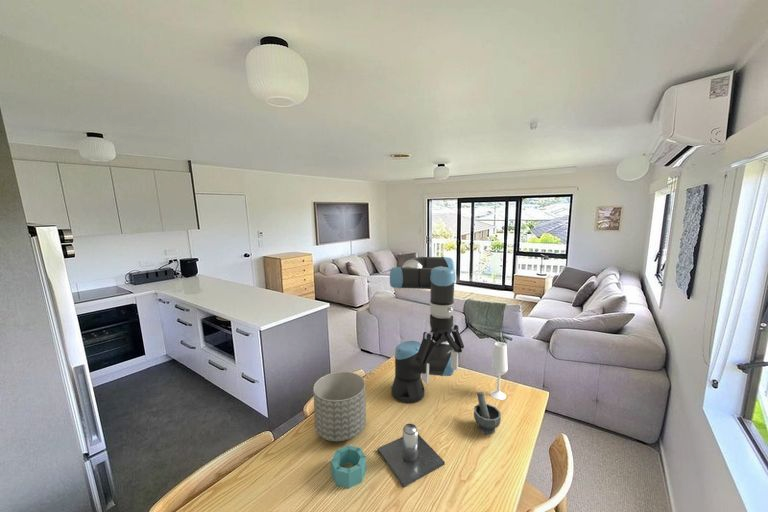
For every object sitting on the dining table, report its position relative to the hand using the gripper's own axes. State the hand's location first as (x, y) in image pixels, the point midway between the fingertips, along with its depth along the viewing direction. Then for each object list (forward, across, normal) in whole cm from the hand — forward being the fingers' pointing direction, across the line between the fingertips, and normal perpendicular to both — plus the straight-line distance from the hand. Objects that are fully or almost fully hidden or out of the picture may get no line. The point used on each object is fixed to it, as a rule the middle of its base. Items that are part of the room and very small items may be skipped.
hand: (440, 374), depth 99 cm
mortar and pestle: (+27, +21, -4) cm, 35 cm away
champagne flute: (+27, +43, +6) cm, 51 cm away
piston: (+26, -12, +2) cm, 29 cm away
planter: (+27, -25, +26) cm, 45 cm away
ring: (+26, -31, +8) cm, 42 cm away
